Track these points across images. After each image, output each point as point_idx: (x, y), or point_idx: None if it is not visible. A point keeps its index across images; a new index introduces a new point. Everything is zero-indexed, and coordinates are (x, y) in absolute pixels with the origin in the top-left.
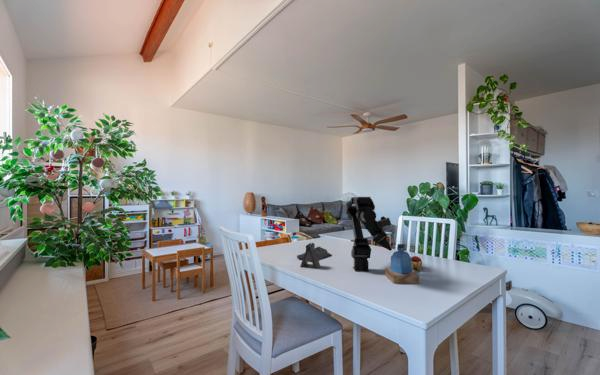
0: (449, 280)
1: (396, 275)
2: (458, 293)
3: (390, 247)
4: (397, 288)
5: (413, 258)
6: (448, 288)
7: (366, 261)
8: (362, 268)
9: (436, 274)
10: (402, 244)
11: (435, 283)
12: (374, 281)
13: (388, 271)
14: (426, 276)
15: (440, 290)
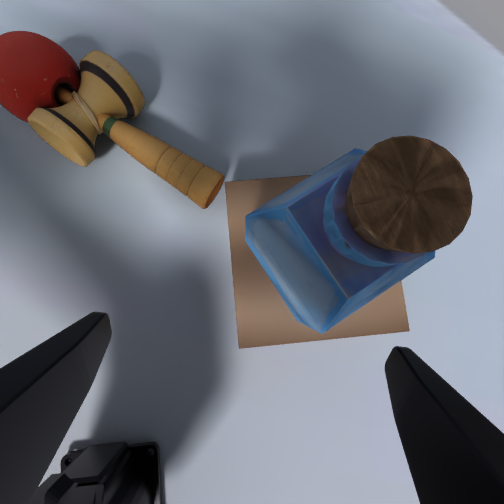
0: (295, 23)
1: (405, 310)
2: (474, 61)
3: (437, 381)
4: (459, 322)
5: (34, 80)
6: (415, 75)
7: (108, 496)
8: (148, 499)
9: (198, 44)
10: (378, 161)
11: (350, 105)
12: (362, 434)
13: (309, 340)
14: (238, 107)
15: (449, 121)
